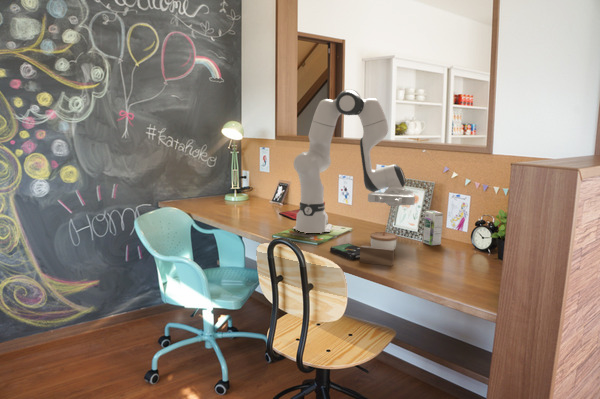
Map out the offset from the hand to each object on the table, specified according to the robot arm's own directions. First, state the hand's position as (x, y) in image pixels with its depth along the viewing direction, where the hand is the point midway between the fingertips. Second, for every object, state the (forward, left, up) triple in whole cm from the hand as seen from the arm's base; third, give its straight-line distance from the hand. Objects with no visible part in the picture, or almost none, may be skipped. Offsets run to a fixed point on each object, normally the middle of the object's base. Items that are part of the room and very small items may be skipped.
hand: (388, 201), depth 197 cm
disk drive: (+16, -12, -21) cm, 29 cm away
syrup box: (-13, +18, -20) cm, 30 cm away
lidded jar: (+11, 0, -20) cm, 23 cm away
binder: (-48, -57, -21) cm, 77 cm away
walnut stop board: (+25, 0, -20) cm, 32 cm away
